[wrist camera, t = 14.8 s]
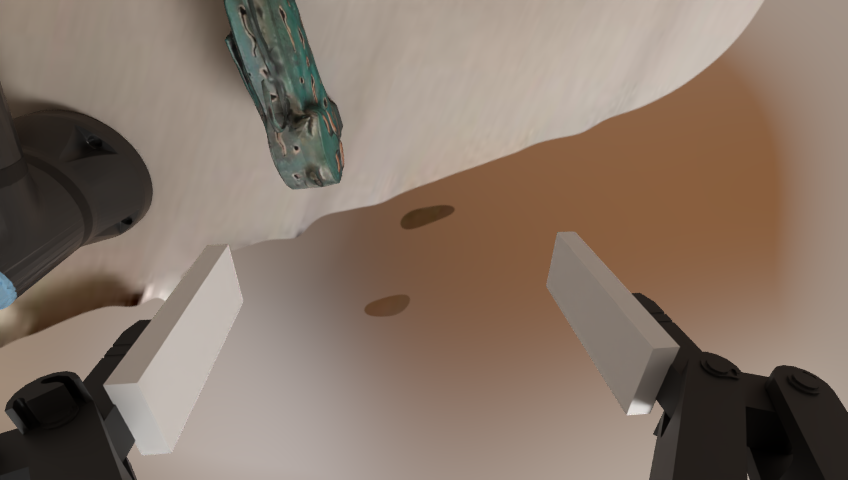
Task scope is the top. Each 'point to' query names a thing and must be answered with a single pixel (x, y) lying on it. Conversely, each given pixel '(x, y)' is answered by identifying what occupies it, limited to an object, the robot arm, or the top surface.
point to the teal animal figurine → (286, 91)
